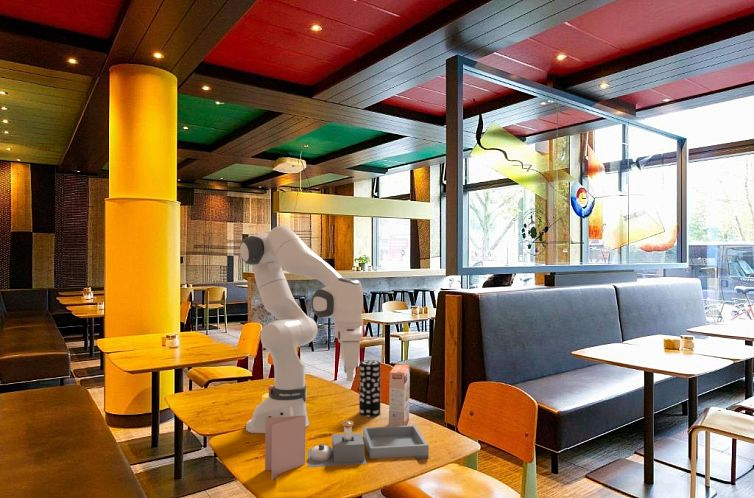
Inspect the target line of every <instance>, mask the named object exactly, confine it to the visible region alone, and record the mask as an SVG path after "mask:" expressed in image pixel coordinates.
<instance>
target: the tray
mask: <svg viewBox="0 0 754 498" xmlns="http://www.w3.org/2000/svg"><path fill="white" fill-rule="evenodd" d="M362 437H363V440H364V445H365V447H366V450H367V453H368V456H369V459H370V460H372V459H387V458H403V457H414V458H415V460H424V459H429V453H430V452H429V449H430V448H429V446H430V445H429V444H428V442H427V440H426V439H425V438H424V437H423V434H422V433H421V432H420V431H419V429H418V428H417V425H415V424H413V425H412V424H410V425H408V424H407V425H406V426H389V425H388V426H387V425H386V426H370V427H362Z"/></svg>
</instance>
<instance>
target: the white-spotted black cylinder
mask: <svg viewBox="0 0 754 498" xmlns="http://www.w3.org/2000/svg"><path fill="white" fill-rule="evenodd" d="M381 364H382V363H381V361H379V360H371V359H369V360H361V361H360V362H359V391H358V392H359V397H358V398H359V407H358V408H359V409H358V411H359V412H358V413H359V415H360V416H362V417H365V416H366V418H367V417H368V418H373V417H378V416H380V415H381V386H382V385H381V373H382V372H381V370H382V369H381Z"/></svg>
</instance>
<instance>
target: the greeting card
mask: <svg viewBox="0 0 754 498" xmlns="http://www.w3.org/2000/svg"><path fill="white" fill-rule="evenodd" d="M305 419H306V416H289V417H269V418H266V425H265V433H264V435H265V438H264V439H265V440H264V441H265V443H264V444H265V446H264V452H265V454H264V456H265V457H264V458H265V459H264V460H265V461H264V470H265V471H271V472H270V473H271V478H270V480H271V479H272V480H275V479H277V477H278V478H279V477H280V474H282V473H284V472H287V471H290V470H293V469H295V468H298V467H301V466H303V465H306V427H305ZM274 478H275V479H274Z"/></svg>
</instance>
